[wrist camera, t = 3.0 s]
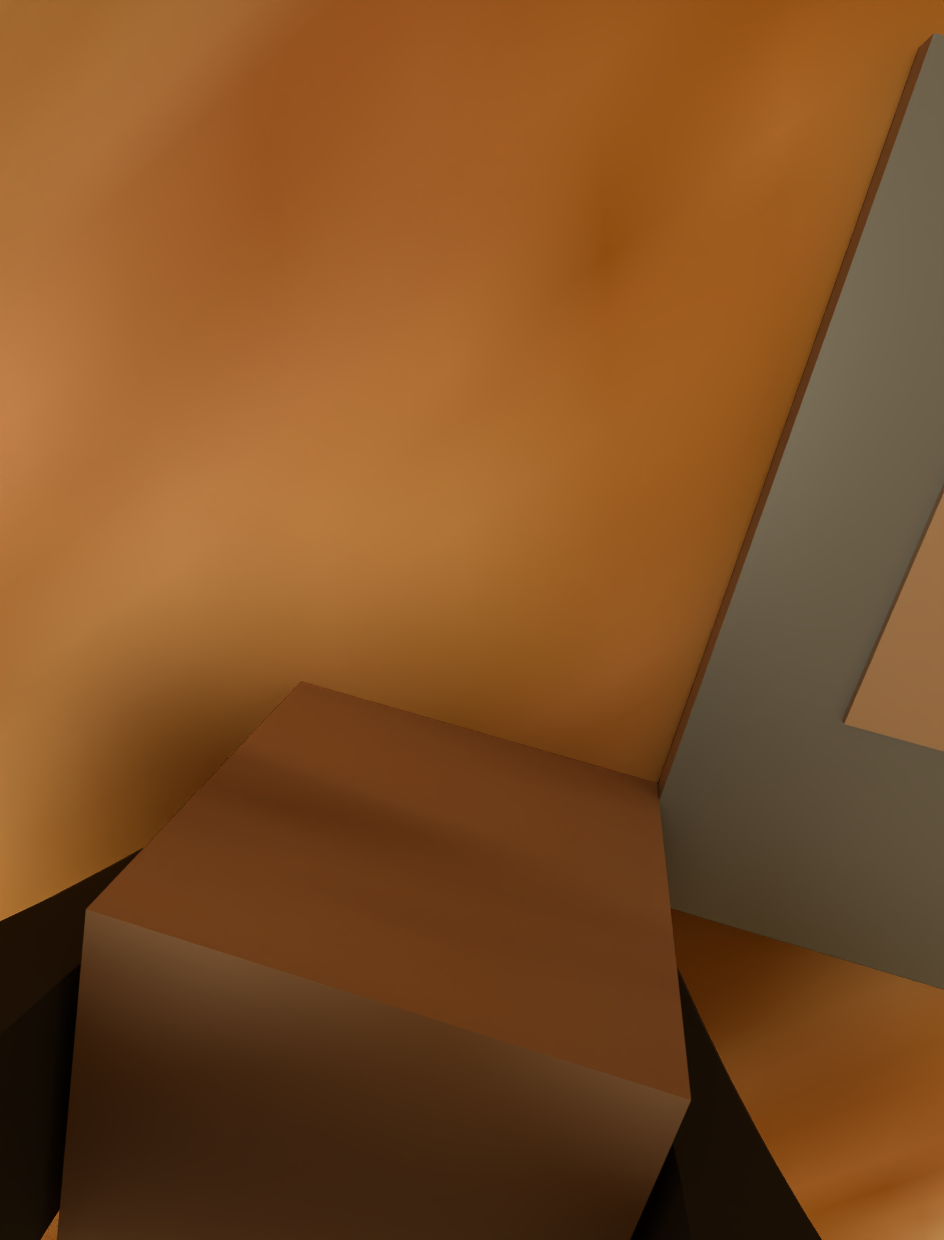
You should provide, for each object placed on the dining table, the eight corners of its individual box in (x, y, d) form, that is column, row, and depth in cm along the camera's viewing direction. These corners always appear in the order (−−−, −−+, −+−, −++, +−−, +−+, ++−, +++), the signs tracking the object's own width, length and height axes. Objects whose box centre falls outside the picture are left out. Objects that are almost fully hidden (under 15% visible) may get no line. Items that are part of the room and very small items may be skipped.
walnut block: (558, 1058, 13) (527, 1471, 8) (252, 962, 13) (51, 1303, 8) (657, 781, 11) (690, 1101, 6) (302, 680, 11) (86, 909, 7)
